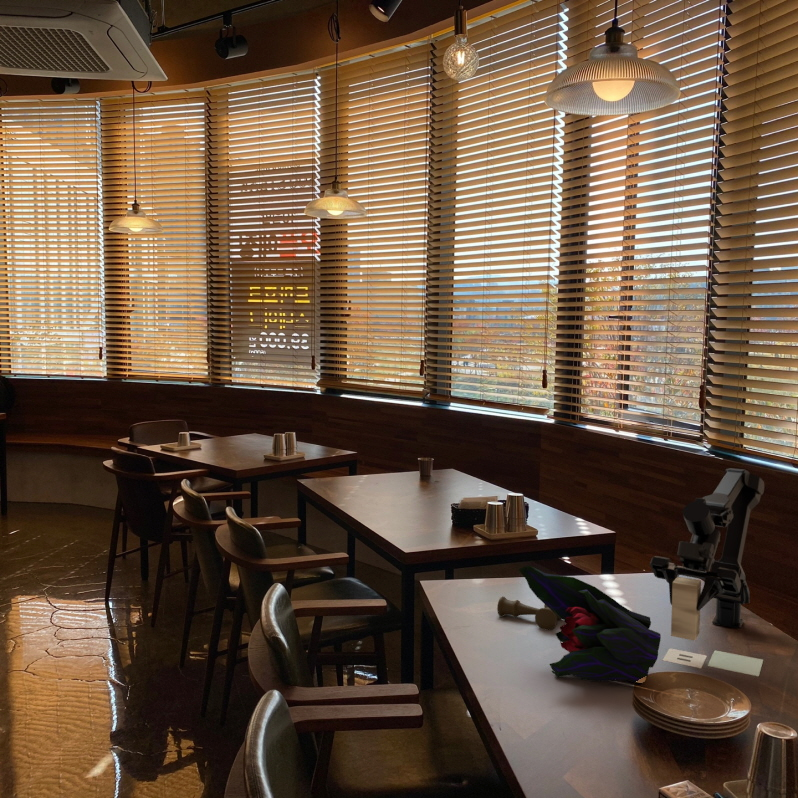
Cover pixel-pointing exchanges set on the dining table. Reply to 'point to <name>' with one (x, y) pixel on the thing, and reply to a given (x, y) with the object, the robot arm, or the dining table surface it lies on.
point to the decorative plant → (595, 630)
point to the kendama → (528, 612)
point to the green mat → (736, 663)
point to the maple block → (685, 608)
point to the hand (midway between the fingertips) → (684, 606)
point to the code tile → (685, 658)
